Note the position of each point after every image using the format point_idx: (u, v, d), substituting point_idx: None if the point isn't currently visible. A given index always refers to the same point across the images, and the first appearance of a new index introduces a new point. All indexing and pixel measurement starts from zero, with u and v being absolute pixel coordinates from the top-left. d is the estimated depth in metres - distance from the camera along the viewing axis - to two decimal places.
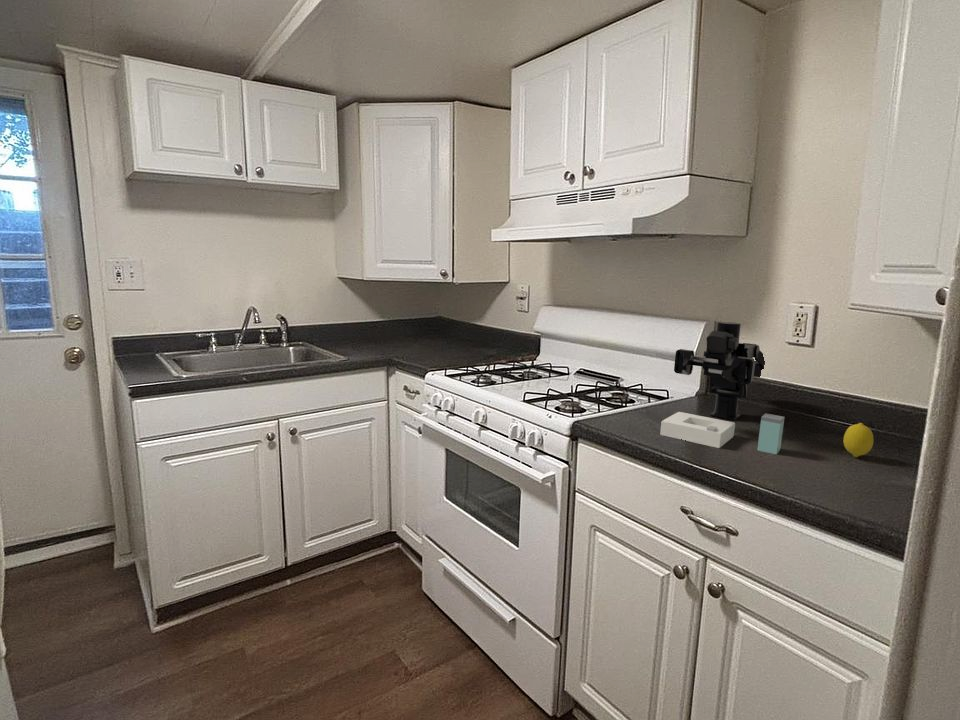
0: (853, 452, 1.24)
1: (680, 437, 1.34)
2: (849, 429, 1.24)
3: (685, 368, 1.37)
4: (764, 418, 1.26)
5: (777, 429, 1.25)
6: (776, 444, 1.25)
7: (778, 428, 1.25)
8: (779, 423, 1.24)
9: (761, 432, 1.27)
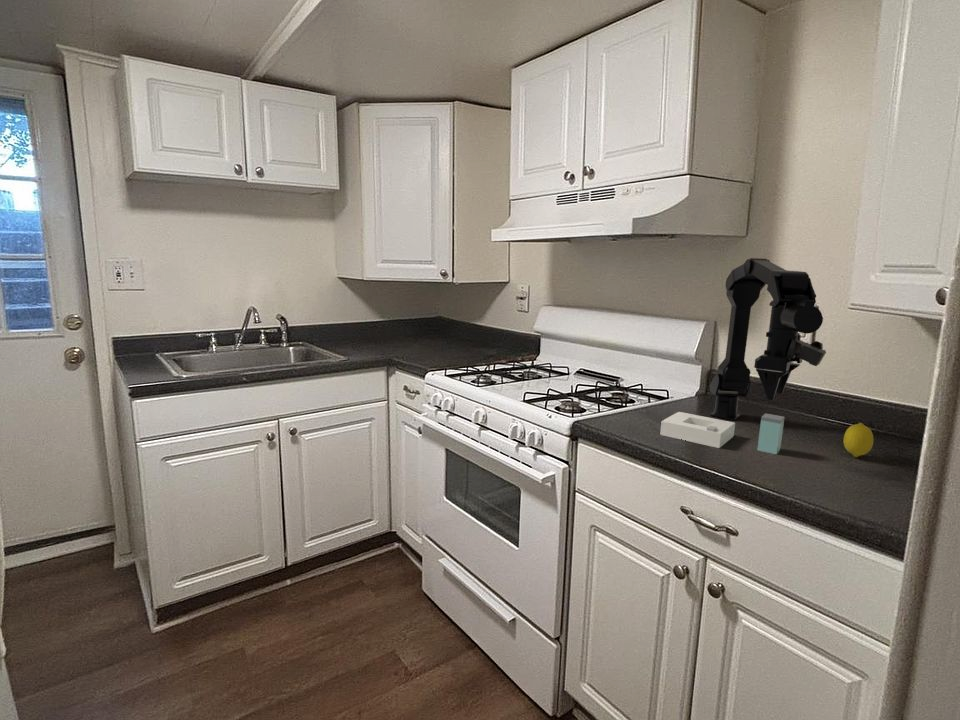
0: (853, 452, 1.24)
1: (680, 437, 1.34)
2: (849, 429, 1.24)
3: None
4: (764, 418, 1.26)
5: (777, 429, 1.25)
6: (776, 444, 1.25)
7: (778, 428, 1.25)
8: (779, 423, 1.24)
9: (761, 432, 1.27)
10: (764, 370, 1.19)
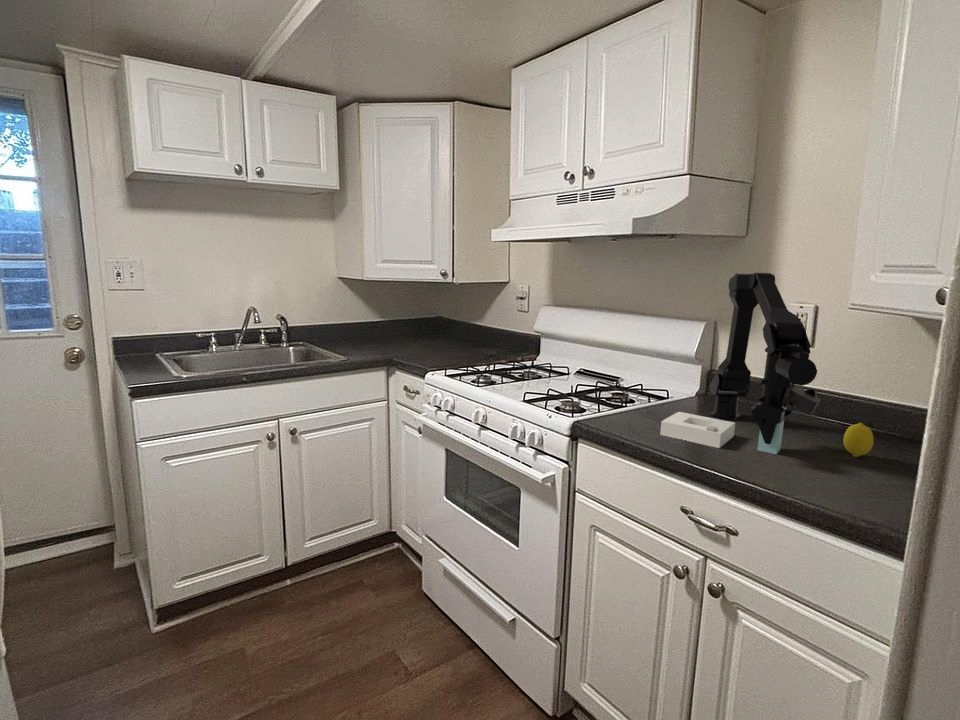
0: (853, 452, 1.24)
1: (680, 437, 1.34)
2: (849, 429, 1.24)
3: None
4: None
5: (777, 429, 1.25)
6: (776, 444, 1.25)
7: (778, 428, 1.25)
8: (779, 423, 1.24)
9: None
10: None
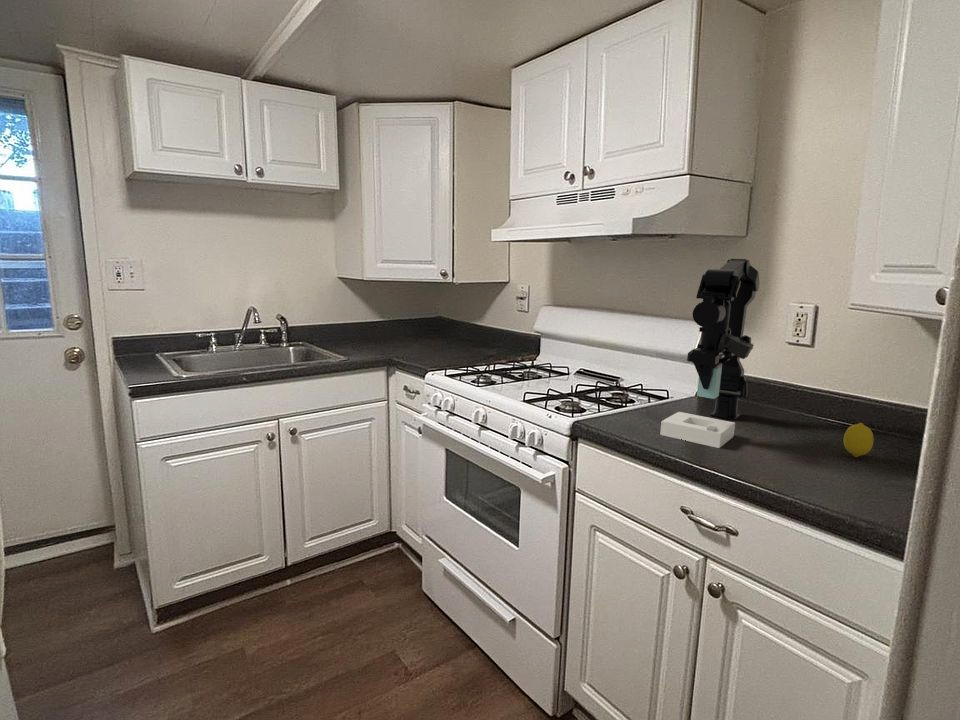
0: (853, 452, 1.24)
1: (680, 437, 1.34)
2: (849, 429, 1.24)
3: None
4: None
5: (715, 374, 1.31)
6: (714, 389, 1.31)
7: (715, 373, 1.31)
8: (716, 368, 1.31)
9: None
10: None
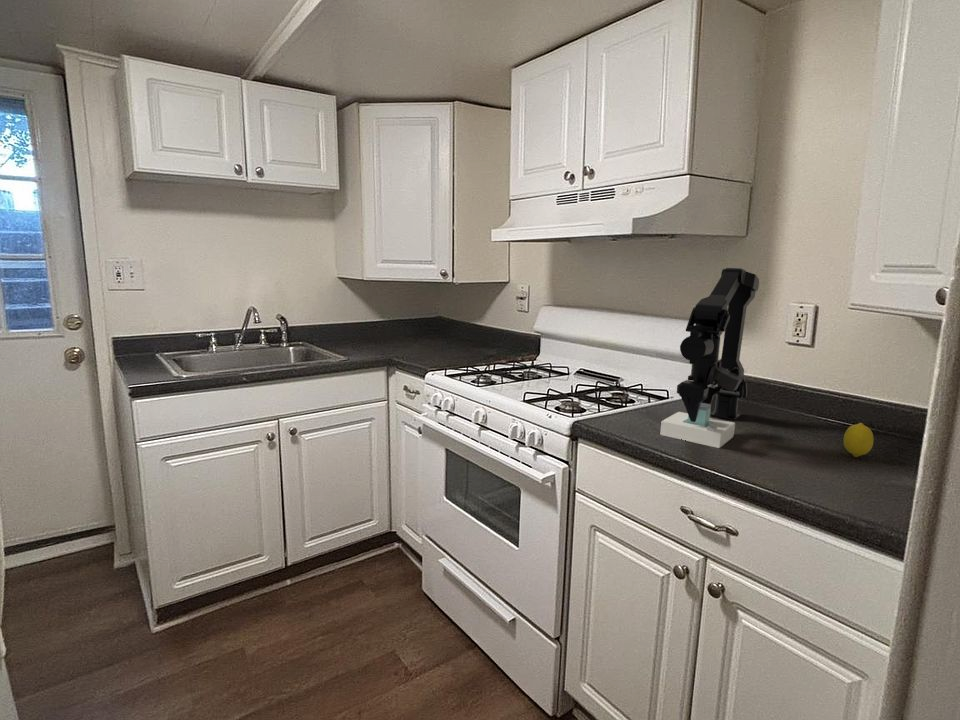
0: (853, 452, 1.24)
1: (680, 437, 1.34)
2: (849, 429, 1.24)
3: None
4: None
5: (703, 415, 1.34)
6: None
7: (704, 415, 1.34)
8: (705, 410, 1.33)
9: (689, 419, 1.36)
10: (686, 395, 1.30)
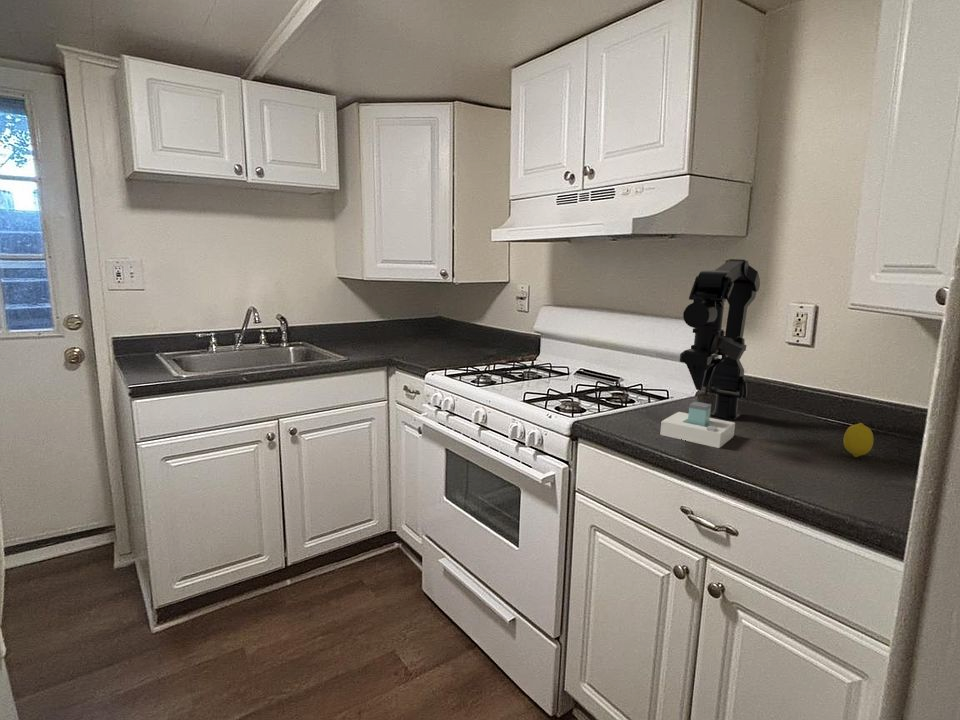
0: (853, 452, 1.24)
1: (680, 437, 1.34)
2: (849, 429, 1.24)
3: None
4: (692, 405, 1.35)
5: (703, 415, 1.34)
6: None
7: (704, 415, 1.34)
8: (705, 410, 1.33)
9: (689, 419, 1.36)
10: None
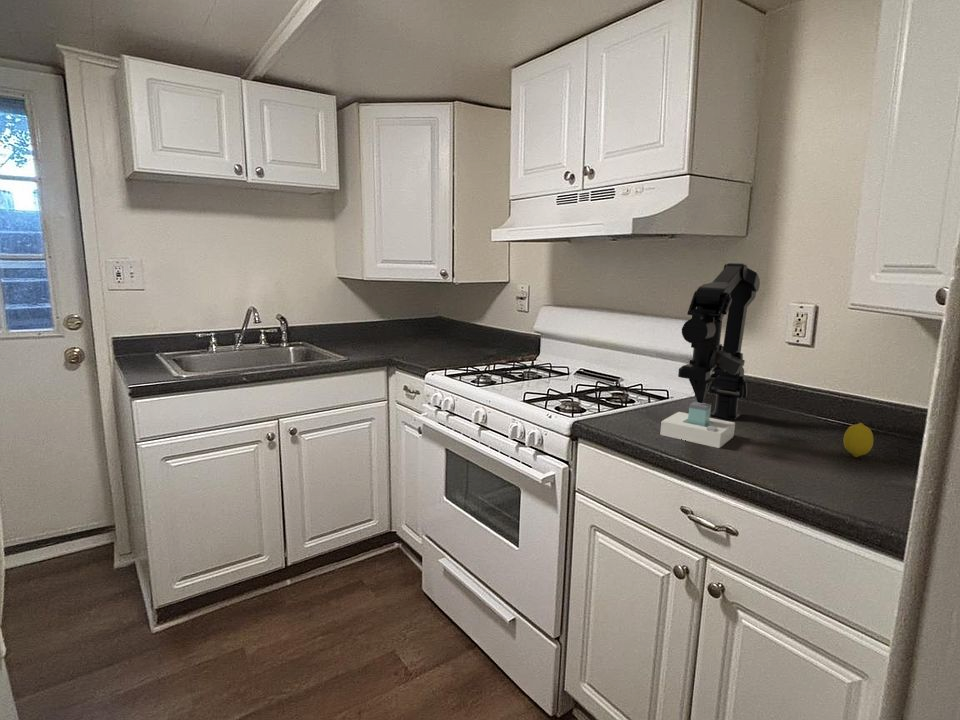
0: (853, 452, 1.24)
1: (680, 437, 1.34)
2: (849, 429, 1.24)
3: None
4: (692, 405, 1.35)
5: (703, 415, 1.34)
6: None
7: (704, 415, 1.34)
8: (705, 410, 1.33)
9: (689, 419, 1.36)
10: None
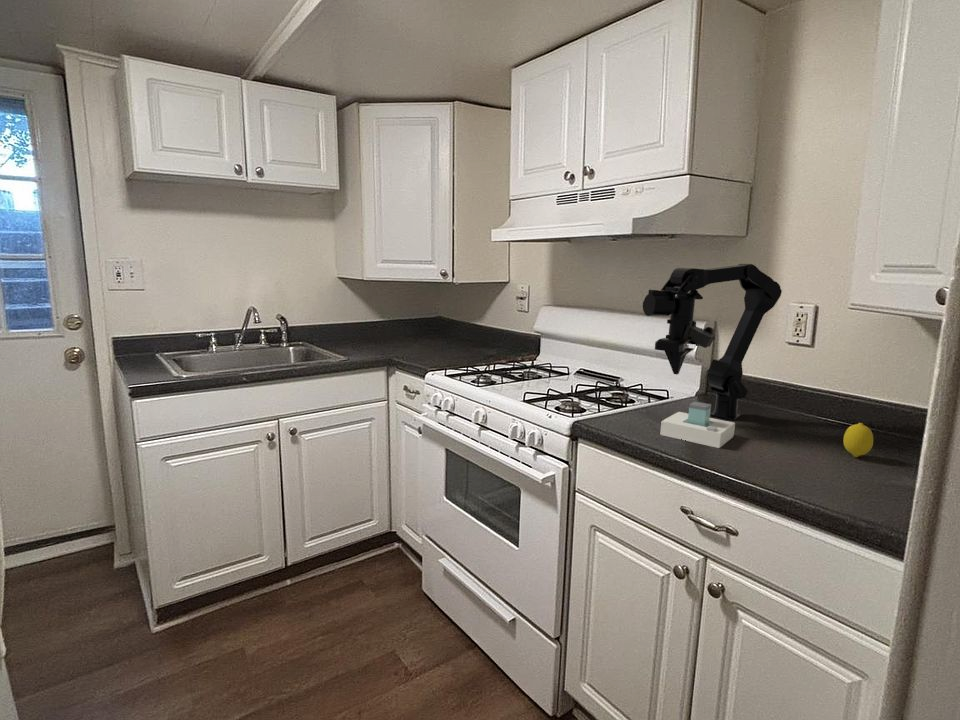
0: (853, 452, 1.24)
1: (680, 437, 1.34)
2: (849, 429, 1.24)
3: None
4: (692, 405, 1.35)
5: (703, 415, 1.34)
6: None
7: (704, 415, 1.34)
8: (705, 410, 1.33)
9: (689, 419, 1.36)
10: None
